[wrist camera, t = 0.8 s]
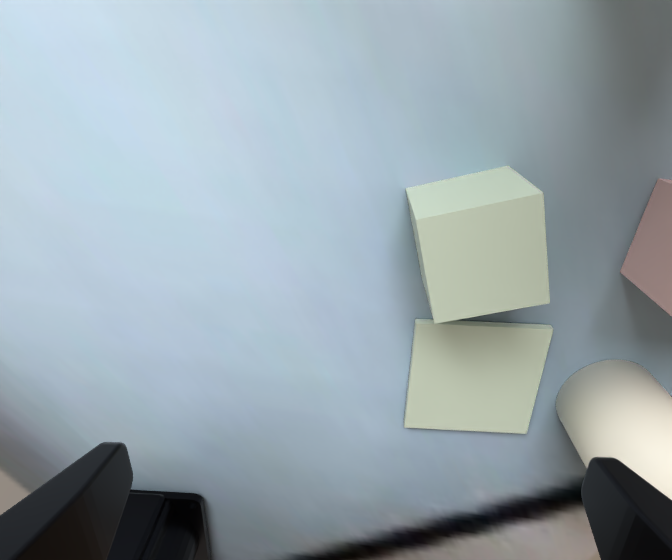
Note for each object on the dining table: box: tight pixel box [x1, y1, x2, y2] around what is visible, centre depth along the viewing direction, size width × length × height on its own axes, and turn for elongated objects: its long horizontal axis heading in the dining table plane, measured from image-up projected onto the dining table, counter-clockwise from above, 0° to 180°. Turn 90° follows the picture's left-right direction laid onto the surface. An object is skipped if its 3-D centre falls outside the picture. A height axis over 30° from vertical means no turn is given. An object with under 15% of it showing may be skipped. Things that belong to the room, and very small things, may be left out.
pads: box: [404, 319, 553, 434], centre depth 22 cm, size 6×19×1 cm, turn 88°
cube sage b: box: [406, 166, 550, 324], centre depth 18 cm, size 4×4×4 cm
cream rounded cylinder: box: [556, 359, 672, 500], centre depth 20 cm, size 5×5×6 cm
